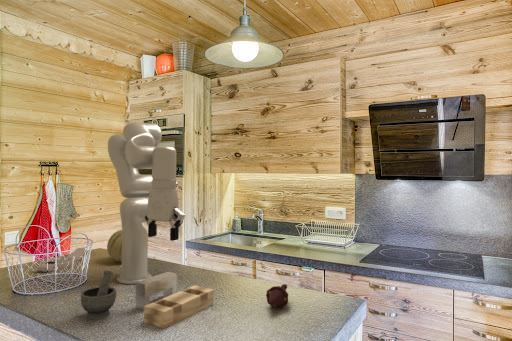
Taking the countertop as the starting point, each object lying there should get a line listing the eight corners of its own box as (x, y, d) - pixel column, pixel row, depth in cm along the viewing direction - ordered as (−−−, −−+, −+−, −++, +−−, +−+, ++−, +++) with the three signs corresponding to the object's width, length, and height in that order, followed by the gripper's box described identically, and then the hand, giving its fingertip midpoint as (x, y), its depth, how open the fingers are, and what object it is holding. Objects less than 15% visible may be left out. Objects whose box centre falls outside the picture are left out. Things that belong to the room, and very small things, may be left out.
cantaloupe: (116, 257, 178) (116, 225, 178) (145, 258, 177) (146, 226, 177) (100, 265, 163) (100, 231, 163) (132, 266, 162) (132, 232, 162)
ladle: (89, 247, 171) (42, 260, 148) (89, 260, 171) (42, 275, 148) (78, 247, 173) (31, 259, 150) (78, 259, 173) (31, 273, 150)
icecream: (284, 296, 109) (297, 286, 123) (261, 287, 111) (277, 278, 125) (277, 319, 109) (291, 306, 123) (255, 309, 111) (271, 297, 125)
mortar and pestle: (103, 323, 103) (103, 280, 103) (72, 320, 105) (73, 278, 105) (124, 308, 114) (124, 269, 114) (96, 306, 116) (97, 267, 116)
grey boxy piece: (135, 308, 115) (135, 282, 115) (167, 295, 127) (168, 271, 127) (144, 310, 113) (145, 284, 113) (176, 297, 125) (176, 273, 125)
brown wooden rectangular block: (143, 322, 105) (143, 306, 104) (194, 298, 124) (194, 285, 124) (164, 328, 100) (164, 312, 100) (213, 303, 120) (213, 289, 119)
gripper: (136, 184, 121) (135, 236, 121) (175, 187, 112) (174, 243, 112) (153, 183, 127) (152, 233, 127) (192, 186, 118) (191, 239, 119)
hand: (163, 238), depth 120 cm, fingers open, 9 cm apart
